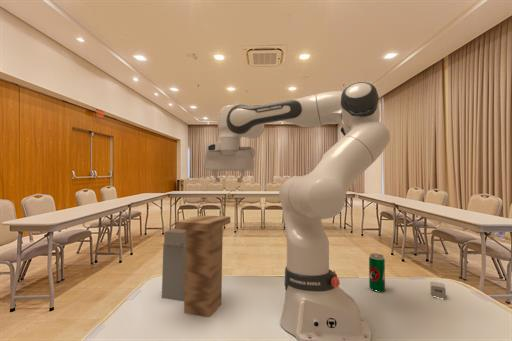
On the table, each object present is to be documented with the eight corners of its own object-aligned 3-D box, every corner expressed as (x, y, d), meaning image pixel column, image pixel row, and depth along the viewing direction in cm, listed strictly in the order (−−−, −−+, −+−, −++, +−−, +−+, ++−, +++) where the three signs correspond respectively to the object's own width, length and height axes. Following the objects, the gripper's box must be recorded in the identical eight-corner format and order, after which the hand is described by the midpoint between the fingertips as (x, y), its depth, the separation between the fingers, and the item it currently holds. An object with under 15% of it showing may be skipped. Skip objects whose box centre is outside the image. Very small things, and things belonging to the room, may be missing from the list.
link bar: (215, 231, 107) (215, 221, 108) (181, 245, 82) (181, 233, 83) (201, 230, 109) (201, 221, 109) (164, 244, 84) (164, 231, 84)
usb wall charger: (431, 297, 87) (430, 285, 87) (430, 290, 93) (430, 278, 93) (445, 300, 85) (445, 287, 85) (444, 292, 91) (443, 281, 91)
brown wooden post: (229, 299, 84) (230, 216, 85) (207, 325, 68) (209, 223, 70) (200, 295, 86) (202, 215, 88) (172, 319, 71) (175, 221, 72)
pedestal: (206, 282, 98) (207, 236, 98) (184, 300, 82) (185, 245, 83) (187, 280, 100) (188, 234, 101) (161, 297, 84) (163, 243, 85)
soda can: (386, 293, 90) (386, 257, 90) (371, 291, 91) (370, 256, 91) (382, 287, 95) (382, 253, 95) (367, 286, 96) (367, 252, 96)
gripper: (256, 147, 104) (256, 182, 103) (208, 148, 109) (208, 182, 108) (252, 145, 98) (251, 182, 97) (202, 146, 103) (201, 182, 102)
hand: (228, 182), depth 103 cm, fingers open, 8 cm apart
